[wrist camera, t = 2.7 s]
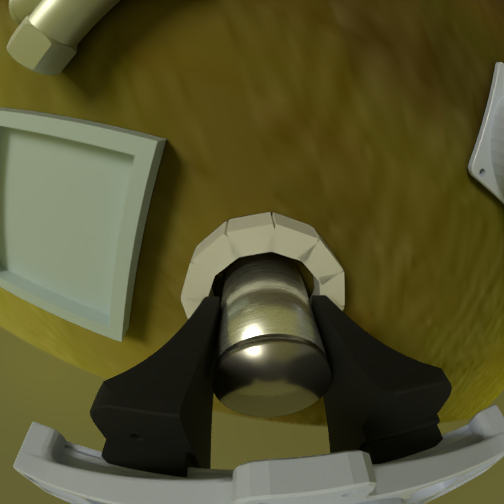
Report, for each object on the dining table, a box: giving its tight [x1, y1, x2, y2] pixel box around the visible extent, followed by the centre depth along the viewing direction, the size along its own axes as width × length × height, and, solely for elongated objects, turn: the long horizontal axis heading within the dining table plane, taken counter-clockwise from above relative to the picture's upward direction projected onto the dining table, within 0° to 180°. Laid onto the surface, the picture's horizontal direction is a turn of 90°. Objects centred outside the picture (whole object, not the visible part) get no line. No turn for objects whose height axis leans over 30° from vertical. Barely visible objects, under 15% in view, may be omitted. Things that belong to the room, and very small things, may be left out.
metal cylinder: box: [212, 252, 331, 417], centre depth 12 cm, size 4×4×6 cm
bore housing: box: [181, 212, 345, 319], centre depth 14 cm, size 8×8×2 cm
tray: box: [0, 108, 167, 342], centre depth 12 cm, size 11×11×1 cm
